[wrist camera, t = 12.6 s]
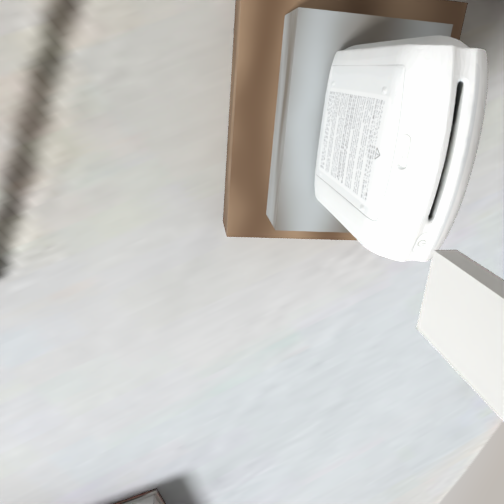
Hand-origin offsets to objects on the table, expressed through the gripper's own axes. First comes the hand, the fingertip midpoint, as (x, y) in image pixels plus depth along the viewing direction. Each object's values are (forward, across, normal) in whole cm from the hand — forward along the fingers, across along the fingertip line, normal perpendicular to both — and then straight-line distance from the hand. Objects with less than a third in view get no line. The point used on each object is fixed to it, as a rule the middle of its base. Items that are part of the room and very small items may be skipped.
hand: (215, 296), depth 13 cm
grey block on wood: (+26, -11, -2) cm, 28 cm away
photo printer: (+18, -10, -3) cm, 21 cm away
